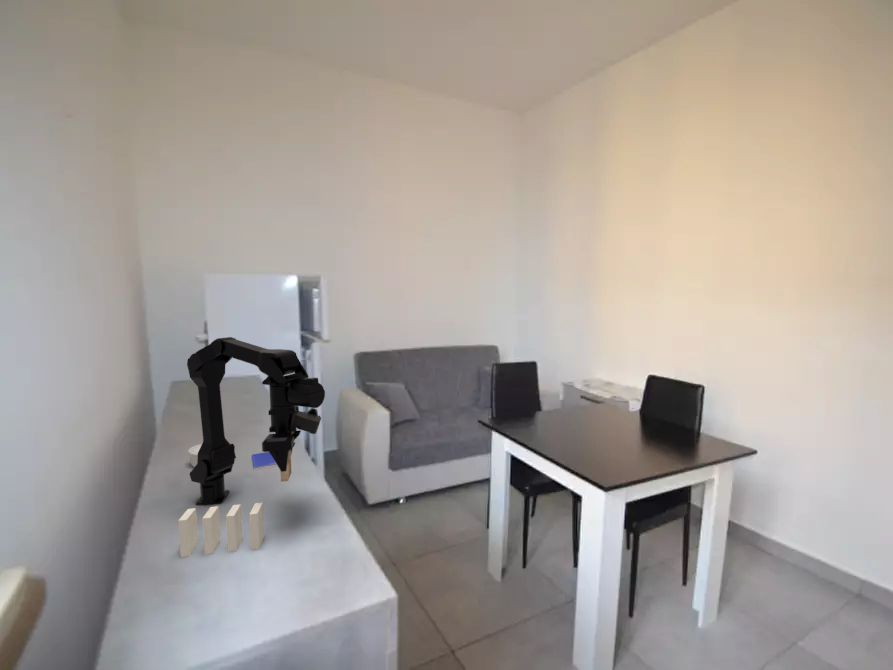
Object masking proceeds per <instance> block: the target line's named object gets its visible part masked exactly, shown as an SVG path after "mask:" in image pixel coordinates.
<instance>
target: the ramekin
mask: <svg viewBox="0 0 893 670" xmlns="http://www.w3.org/2000/svg"><path fill="white" fill-rule="evenodd" d="M201 445H202V443H200V444H196V445H193V446H192V447H190V448H188V450H187V454H188V456H189V461H190V464H191V466H192V467H193V468H194V467H195V466H196V465H197V461H198V452H199V449H200V447H201Z"/></svg>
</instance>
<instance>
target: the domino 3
mask: <svg viewBox="0 0 893 670" xmlns="http://www.w3.org/2000/svg"><path fill="white" fill-rule="evenodd" d="M242 517H243V516H242V504H233V505H232V506H231V507H230V509H229V511H228V512H227V514H226V516H225V521H226V539H227V540H226V541H227V553H235V552H237V550H238V549H239V546H240V545H241V542H242V541H243V523H242V520H243V518H242Z"/></svg>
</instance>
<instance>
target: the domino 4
mask: <svg viewBox="0 0 893 670" xmlns="http://www.w3.org/2000/svg"><path fill="white" fill-rule="evenodd" d="M263 504H264V503H263V502H256V503H254V504H253V506H252V508H251V510H250V513H249V515H248V516H249V517H248V518H249V533H250V534H249V535H250V550H251V551H253V550H254V551H255V550H259V549H260V547H261V545H262V543H263V540H264V538H265V523H264V505H263Z"/></svg>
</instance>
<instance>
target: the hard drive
mask: <svg viewBox="0 0 893 670" xmlns="http://www.w3.org/2000/svg"><path fill="white" fill-rule="evenodd" d="M251 462H252V463H251V464H252V467H253V471H254V470H255V471H257V470H256V469H260V470H263V469H262V468H266V469H270V468H269V467H272V468H276V467H275V466H278V465H277V464H276V462H275V460H274V459H273V457H272V455H271V454H270V452H260V453H252V455H251Z"/></svg>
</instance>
